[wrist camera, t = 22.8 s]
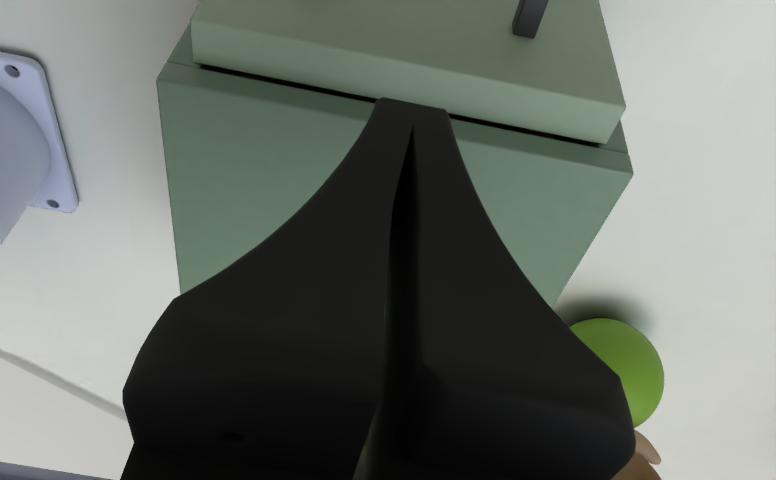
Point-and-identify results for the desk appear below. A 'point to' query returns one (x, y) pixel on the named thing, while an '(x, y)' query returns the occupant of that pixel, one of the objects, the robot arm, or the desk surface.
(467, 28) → the drawer
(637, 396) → the snail figurine
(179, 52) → the cabinet
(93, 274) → the desk surface
